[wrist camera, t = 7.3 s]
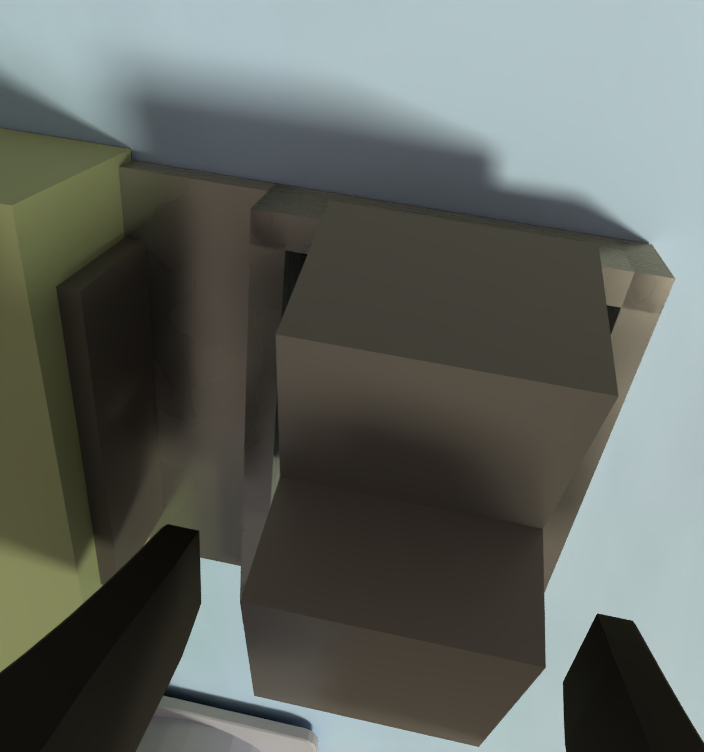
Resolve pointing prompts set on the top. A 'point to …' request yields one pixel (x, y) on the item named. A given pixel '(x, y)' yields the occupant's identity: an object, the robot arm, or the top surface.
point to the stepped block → (423, 466)
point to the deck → (70, 384)
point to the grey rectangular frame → (258, 339)
